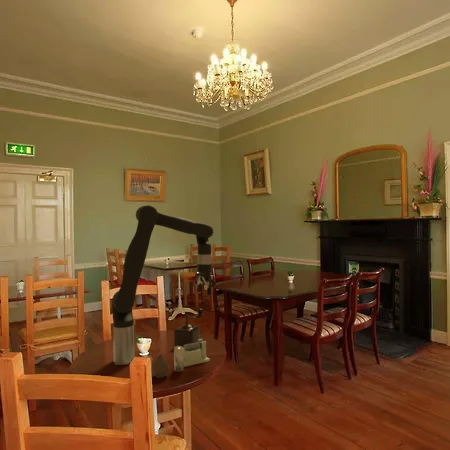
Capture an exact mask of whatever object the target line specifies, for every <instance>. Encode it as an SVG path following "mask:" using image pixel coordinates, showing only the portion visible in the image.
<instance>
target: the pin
mask: <svg viewBox="0 0 450 450" xmlns="http://www.w3.org/2000/svg"><path fill="white" fill-rule="evenodd" d="M203 341H204V340H203ZM203 341H201V342H203ZM201 342H195V343H190V344H185V345H184V350H189V349H194V348H199V347H201Z"/></svg>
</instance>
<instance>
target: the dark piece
mask: <svg viewBox="0 0 450 450" xmlns="http://www.w3.org/2000/svg"><path fill="white" fill-rule="evenodd" d="M196 313H197V316H190V317H189V315H188V314H185V324H183V325H180V326H179V327H177V328H175V329H173V338H174V342H173V343H174V345H173V346H174V347H176V346H182V347H183V348H184V345H185V344H190V343H195V342H198V339H201V326H199V325H194V324H191V323H189V320H190V319H201V318H203V314H204V313H205V311H204V309H203V308H198V309H196ZM174 347H173V348H174Z"/></svg>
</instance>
